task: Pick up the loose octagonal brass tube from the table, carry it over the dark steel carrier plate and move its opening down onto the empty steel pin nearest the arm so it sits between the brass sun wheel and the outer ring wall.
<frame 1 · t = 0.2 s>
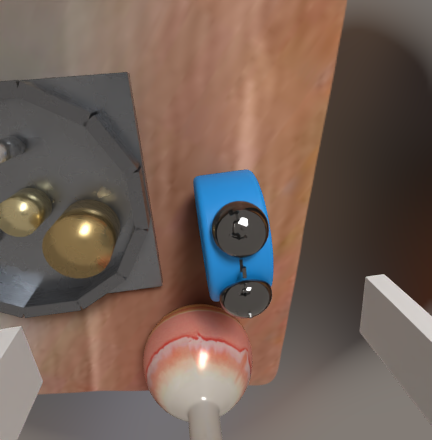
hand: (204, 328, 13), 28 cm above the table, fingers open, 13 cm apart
vase: (195, 326, 47), on the table
carrier: (37, 200, 38), on the table
alarm clock: (221, 211, 41), on the table
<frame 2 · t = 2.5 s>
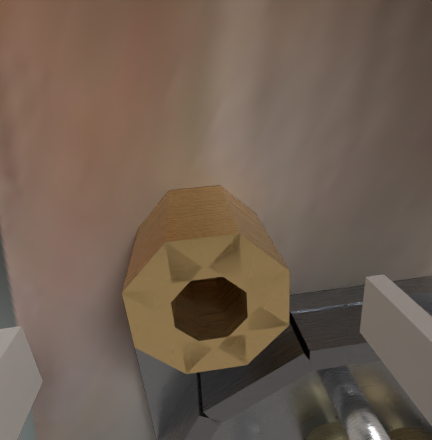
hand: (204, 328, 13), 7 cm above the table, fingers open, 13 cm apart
carrier: (322, 420, 26), on the table
octagonal brass tube: (200, 242, 19), on the table
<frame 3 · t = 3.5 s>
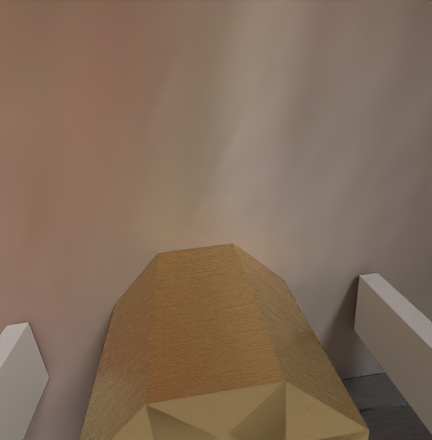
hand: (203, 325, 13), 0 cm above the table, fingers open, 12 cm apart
octagonal brass tube: (204, 321, 13), on the table
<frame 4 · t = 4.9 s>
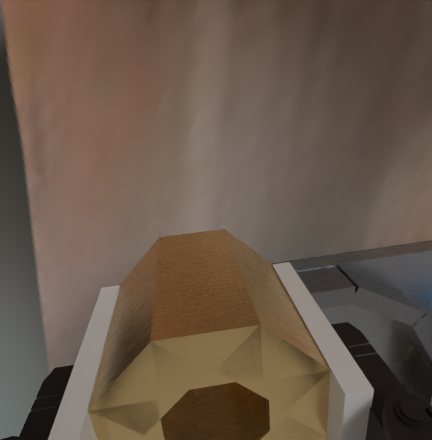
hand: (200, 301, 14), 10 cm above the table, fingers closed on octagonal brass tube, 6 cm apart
carrier: (289, 377, 31), on the table
octagonal brass tube: (200, 299, 15), point 10 cm above the table, touching gripper
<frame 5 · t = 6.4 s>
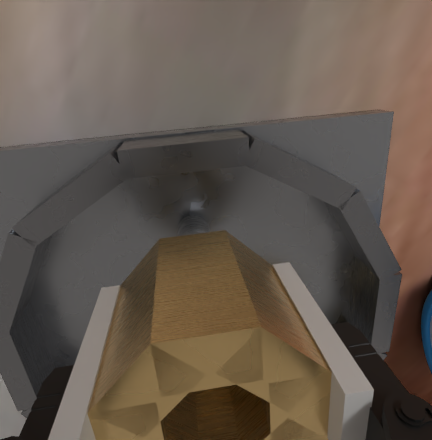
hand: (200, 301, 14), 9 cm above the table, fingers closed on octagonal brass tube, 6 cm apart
carrier: (201, 299, 25), on the table
octagonal brass tube: (200, 300, 15), point 8 cm above the table, touching gripper
when the fingers open (2 cm above the table, at t = 8.0 s): octagonal brass tube stays where it is, resting on carrier.
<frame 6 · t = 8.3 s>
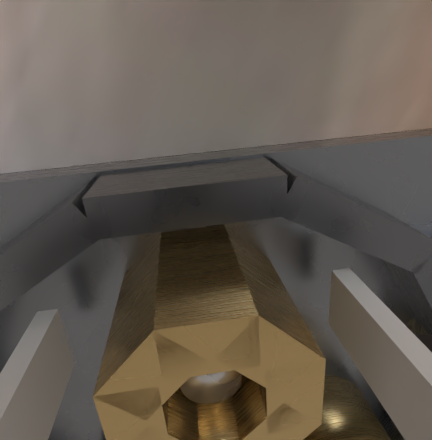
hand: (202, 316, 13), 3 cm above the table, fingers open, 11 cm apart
carrier: (208, 370, 19), on the table
octagonal brass tube: (200, 293, 15), point 1 cm above the table, touching carrier
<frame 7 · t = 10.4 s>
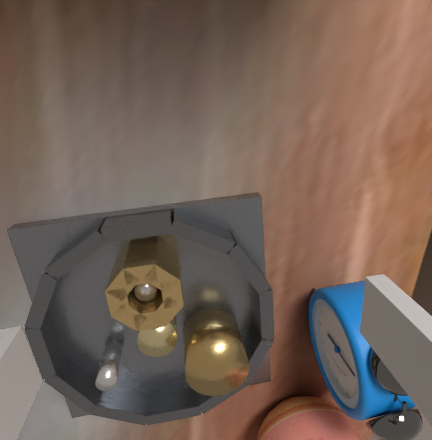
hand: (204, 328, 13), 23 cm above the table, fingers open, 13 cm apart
vase: (292, 411, 47), on the table
carrier: (158, 309, 38), on the table
octagonal brass tube: (149, 266, 35), point 1 cm above the table, touching carrier
alarm clock: (328, 307, 42), on the table
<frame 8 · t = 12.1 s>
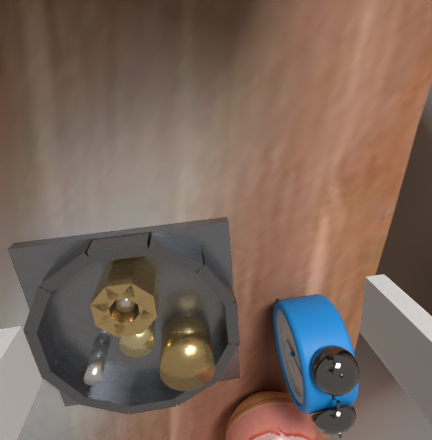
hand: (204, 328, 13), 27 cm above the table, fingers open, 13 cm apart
vase: (261, 404, 54), on the table
carrier: (140, 314, 44), on the table
octagonal brass tube: (131, 280, 40), point 1 cm above the table, touching carrier
alarm clock: (292, 315, 47), on the table
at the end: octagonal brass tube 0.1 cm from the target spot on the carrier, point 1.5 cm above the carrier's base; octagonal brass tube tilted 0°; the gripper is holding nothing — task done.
